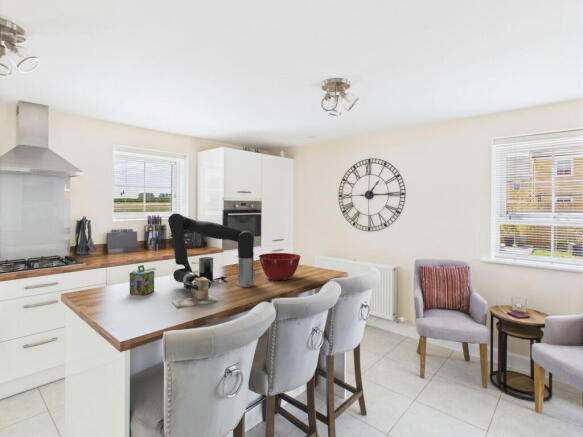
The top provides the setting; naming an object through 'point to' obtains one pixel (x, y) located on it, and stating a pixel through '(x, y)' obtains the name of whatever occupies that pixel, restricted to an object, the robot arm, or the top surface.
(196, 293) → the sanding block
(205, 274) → the milk frother
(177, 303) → the board
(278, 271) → the mixing bowl
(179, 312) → the top surface
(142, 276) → the green patterned box
